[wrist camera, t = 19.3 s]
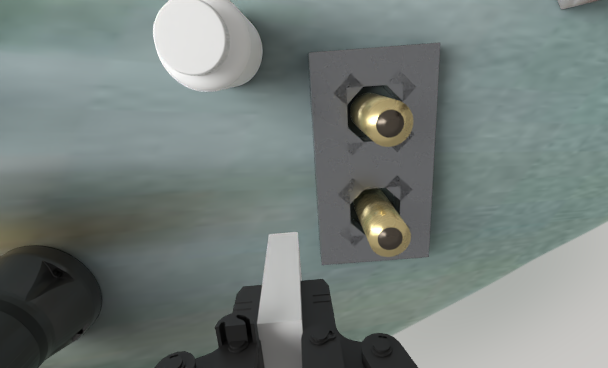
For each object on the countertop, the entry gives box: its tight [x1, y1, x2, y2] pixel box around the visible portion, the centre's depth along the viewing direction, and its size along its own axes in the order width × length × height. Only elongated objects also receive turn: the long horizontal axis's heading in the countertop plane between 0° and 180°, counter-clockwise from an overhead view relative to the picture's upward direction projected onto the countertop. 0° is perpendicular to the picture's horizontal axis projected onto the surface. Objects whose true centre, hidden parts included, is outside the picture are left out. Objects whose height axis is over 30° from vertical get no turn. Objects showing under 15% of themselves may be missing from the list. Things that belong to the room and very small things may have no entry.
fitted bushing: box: [354, 188, 411, 257], centre depth 40 cm, size 4×4×10 cm
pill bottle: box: [153, 0, 263, 92], centre depth 31 cm, size 8×8×15 cm
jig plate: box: [308, 43, 440, 265], centre depth 42 cm, size 14×26×3 cm, turn 4°
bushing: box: [350, 93, 413, 147], centre depth 36 cm, size 4×4×10 cm
